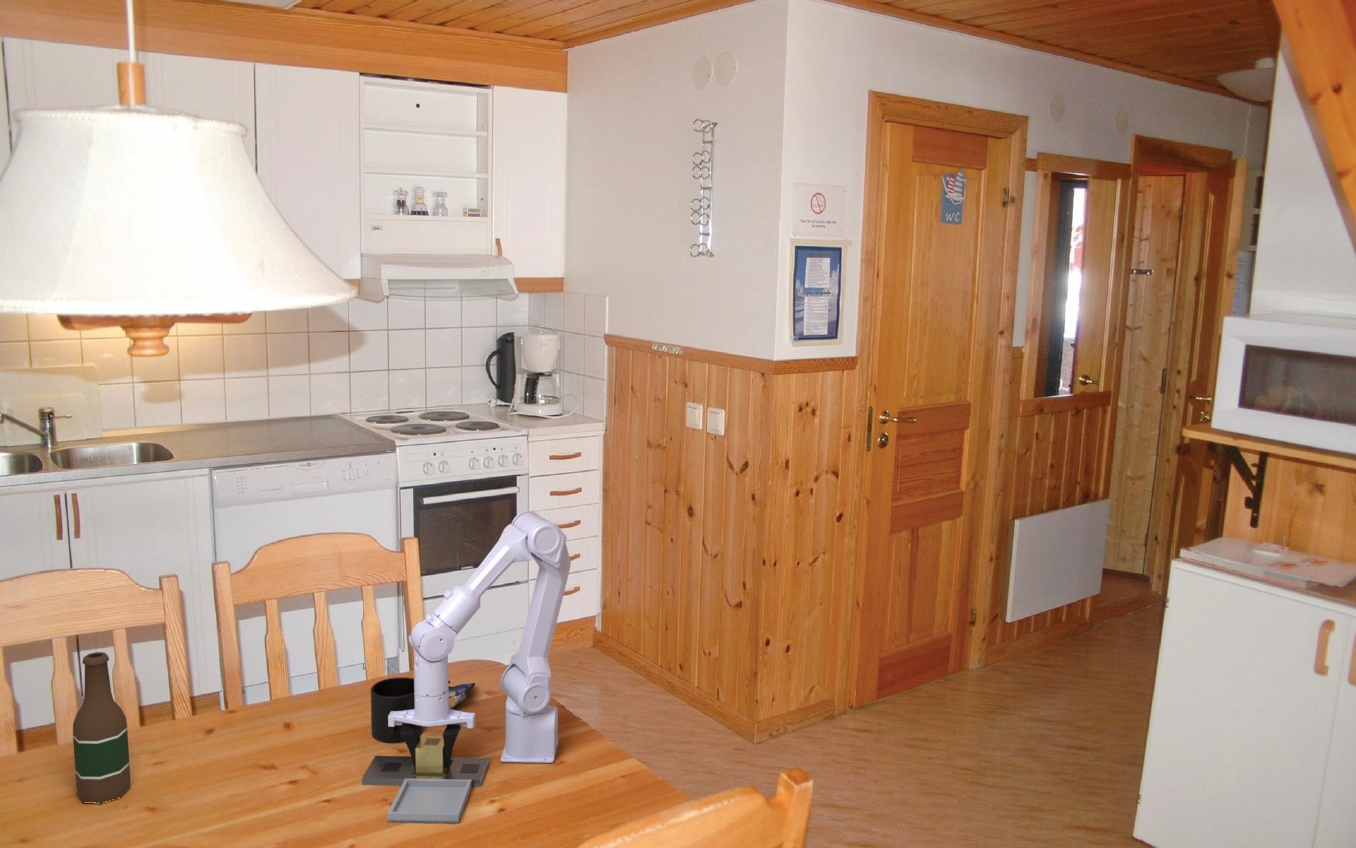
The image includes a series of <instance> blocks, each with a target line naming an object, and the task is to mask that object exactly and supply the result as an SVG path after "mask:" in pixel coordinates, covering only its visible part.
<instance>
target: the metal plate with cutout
mask: <svg viewBox="0 0 1356 848" xmlns="http://www.w3.org/2000/svg"><path fill="white" fill-rule="evenodd" d="M488 766H489V757H466V756H464V757H463V756H462V757H461V756H460V757H459V756H458V757H457V756H451V763H450V765H449V768H448V771H447V773H446V775H445V777H432V776H416V767H414V764H413V760H412V757H411V755H410V756H407V755H406V756H404V755H374V757H373V759H372V760H371V762H370V764H369V766H368V767H367V769H366V770H365V773H364V774H363V776H362V778H361V785H362V786H364V785H365V786H366V785H367V786H402V784H403V782H404V780H405V778H408V779H459V780H472V788H481V785H482V783H483V781H484V778H485V774H486V773H487V769H488Z"/></svg>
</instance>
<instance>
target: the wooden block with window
mask: <svg viewBox="0 0 1356 848" xmlns="http://www.w3.org/2000/svg"><path fill="white" fill-rule="evenodd" d="M449 769H450V766H449V767H448V768H444V740H443V735H420V740H419V742H418V744H417V746H416V773H415V776H432V777H446V776H447V773H448V771H449Z"/></svg>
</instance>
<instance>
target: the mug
mask: <svg viewBox="0 0 1356 848" xmlns="http://www.w3.org/2000/svg"><path fill="white" fill-rule="evenodd" d="M413 709H415V699H414V678H413V677H406V676H405V677H403V676H399V677H389V678H385V679H382V680H379V681H377V682H376V683H374V684H373V685H372V686H371V687H370V715H371V716H370V717H371V718H370V720H371V724H370V725H371V736H372V737H373V738H374V739H375V740H376V741H378V742H381V743H388V744H394V743H395V744H396V743H403V742H404V743H405V741H404V740H403V739H402V737H401V734H400V732H401V730H402V725H395V726H394V727H389V726H388V716H389V714H390V712H391V711H405V710H413ZM423 731H424V726H421V732H420V735H421V734H422V733H423Z"/></svg>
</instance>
